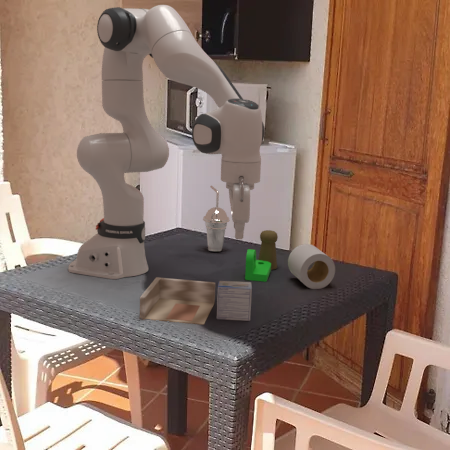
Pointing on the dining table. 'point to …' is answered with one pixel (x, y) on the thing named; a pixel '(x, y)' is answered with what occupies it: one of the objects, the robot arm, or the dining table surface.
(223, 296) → the medicine box
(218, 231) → the cup with straw
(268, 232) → the cork
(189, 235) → the dining table surface
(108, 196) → the robot arm
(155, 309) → the arena
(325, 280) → the toilet paper
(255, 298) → the dining table surface
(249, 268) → the mechanical part
